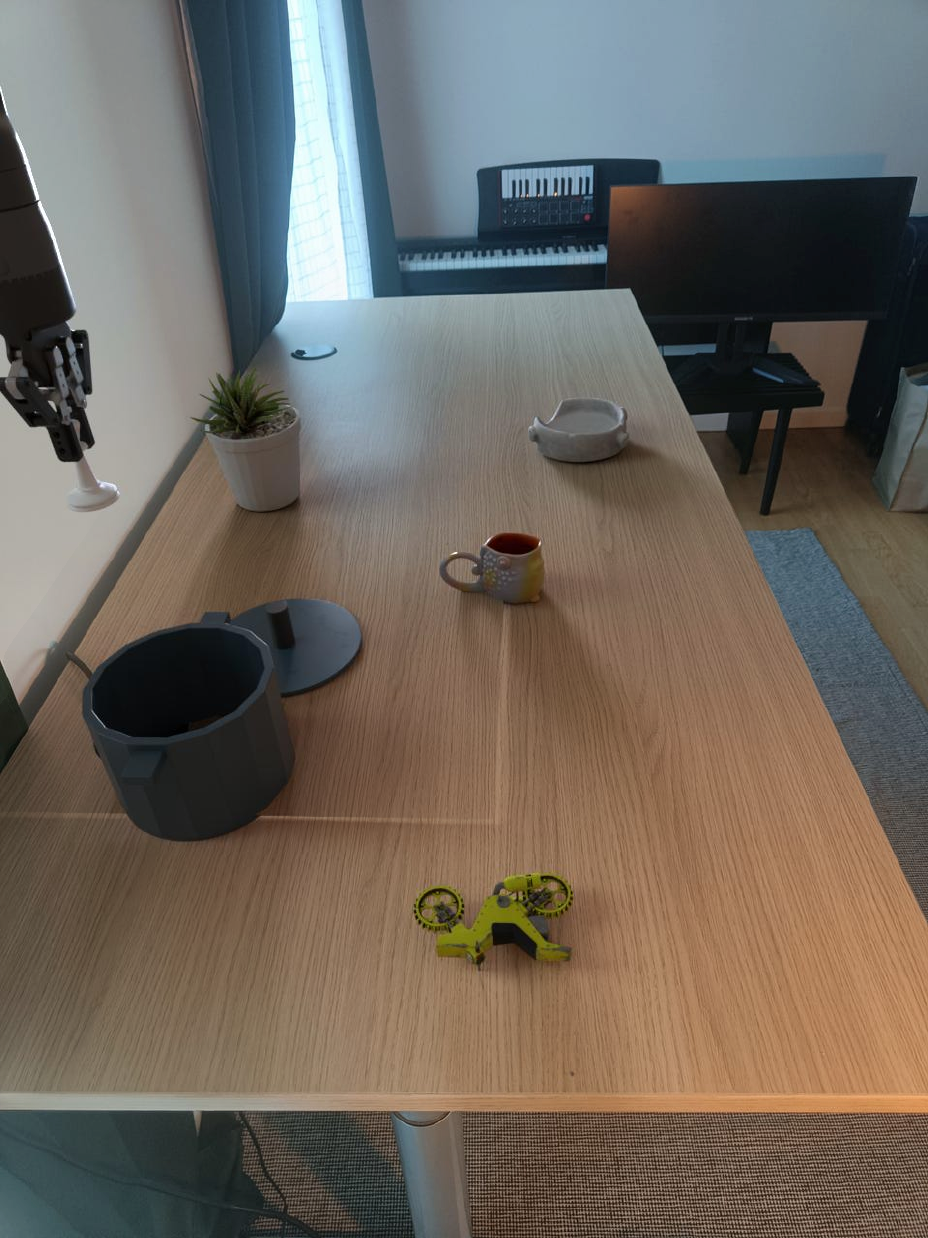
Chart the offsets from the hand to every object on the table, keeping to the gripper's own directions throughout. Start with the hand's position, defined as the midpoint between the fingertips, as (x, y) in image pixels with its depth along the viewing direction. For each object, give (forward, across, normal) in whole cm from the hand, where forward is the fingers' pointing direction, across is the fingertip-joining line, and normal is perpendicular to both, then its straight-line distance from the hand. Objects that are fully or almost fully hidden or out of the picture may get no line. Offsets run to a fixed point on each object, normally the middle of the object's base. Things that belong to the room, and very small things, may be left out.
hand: (77, 453), depth 83 cm
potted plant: (+23, -33, +6) cm, 41 cm away
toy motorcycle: (+23, +36, +40) cm, 59 cm away
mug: (+23, -10, +39) cm, 46 cm away
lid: (+22, +1, +17) cm, 28 cm away
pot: (+23, +19, +14) cm, 33 cm away
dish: (+23, -47, +51) cm, 73 cm away
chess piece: (+5, 0, 0) cm, 5 cm away
